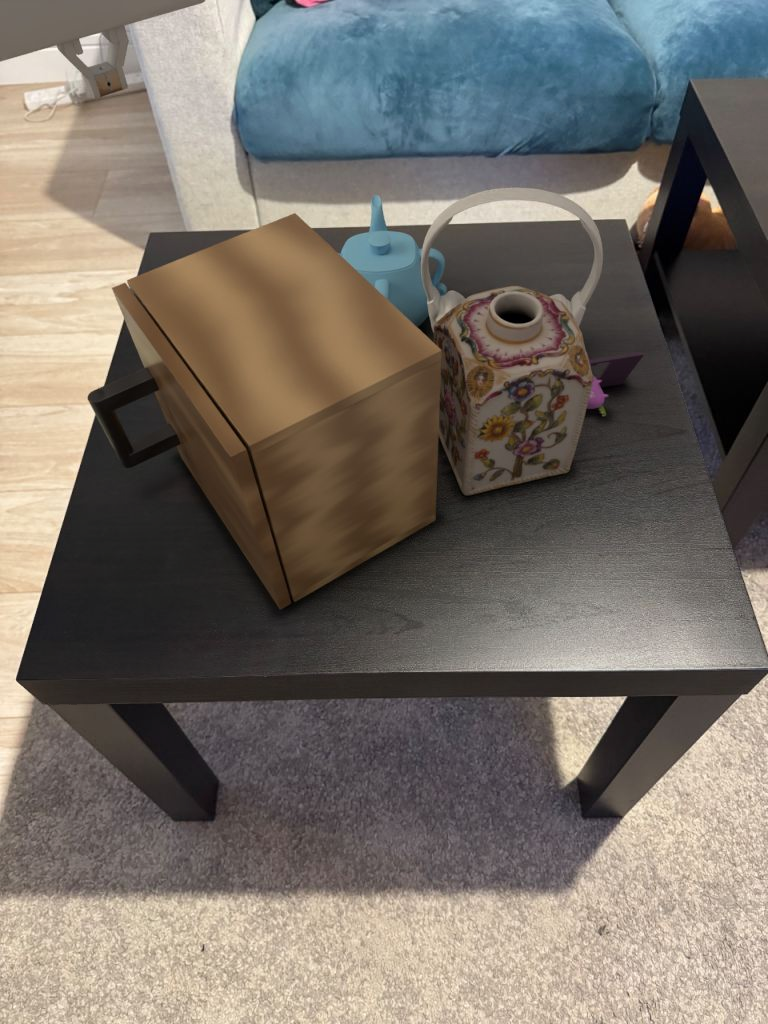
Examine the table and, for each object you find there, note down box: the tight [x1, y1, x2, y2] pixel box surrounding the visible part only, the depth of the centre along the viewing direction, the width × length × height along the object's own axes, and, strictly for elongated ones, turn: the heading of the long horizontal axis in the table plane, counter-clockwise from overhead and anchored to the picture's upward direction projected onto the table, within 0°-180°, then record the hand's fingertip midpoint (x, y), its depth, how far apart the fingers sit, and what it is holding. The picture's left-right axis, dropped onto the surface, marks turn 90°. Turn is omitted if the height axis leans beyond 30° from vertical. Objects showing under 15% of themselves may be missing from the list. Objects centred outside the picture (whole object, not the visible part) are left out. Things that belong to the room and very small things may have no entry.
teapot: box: [337, 194, 448, 328], centre depth 86 cm, size 13×14×11 cm
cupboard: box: [126, 212, 442, 603], centre depth 66 cm, size 16×22×22 cm
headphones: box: [421, 187, 604, 334], centre depth 77 cm, size 7×18×20 cm, turn 84°
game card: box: [586, 351, 645, 417], centre depth 78 cm, size 7×5×9 cm
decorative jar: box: [432, 285, 594, 496], centre depth 70 cm, size 12×12×18 cm
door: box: [87, 282, 292, 610], centre depth 62 cm, size 7×22×22 cm, turn 33°
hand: (108, 91), depth 60 cm, fingers closed
